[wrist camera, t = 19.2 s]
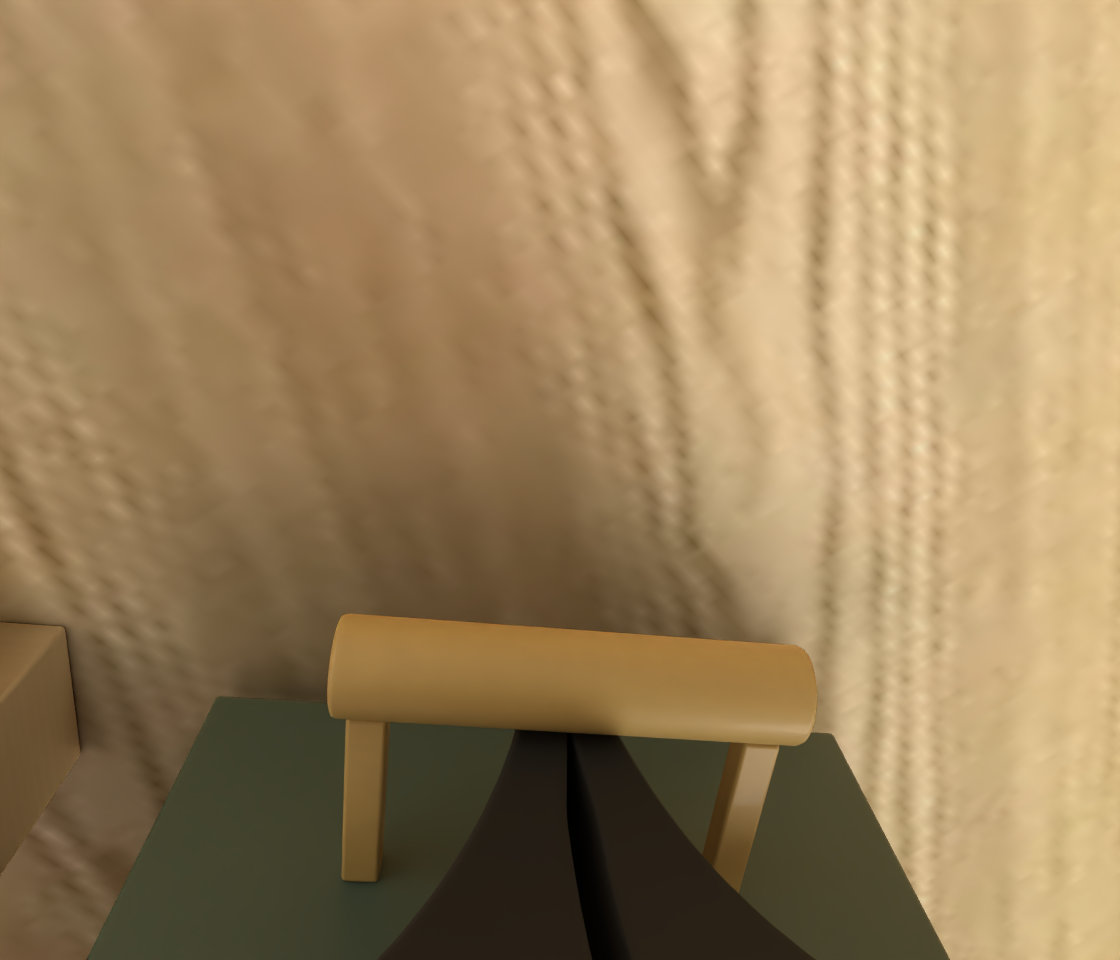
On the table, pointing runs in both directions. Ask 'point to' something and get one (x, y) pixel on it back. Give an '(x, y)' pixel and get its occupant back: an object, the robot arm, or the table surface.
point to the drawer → (470, 776)
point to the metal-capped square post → (33, 727)
